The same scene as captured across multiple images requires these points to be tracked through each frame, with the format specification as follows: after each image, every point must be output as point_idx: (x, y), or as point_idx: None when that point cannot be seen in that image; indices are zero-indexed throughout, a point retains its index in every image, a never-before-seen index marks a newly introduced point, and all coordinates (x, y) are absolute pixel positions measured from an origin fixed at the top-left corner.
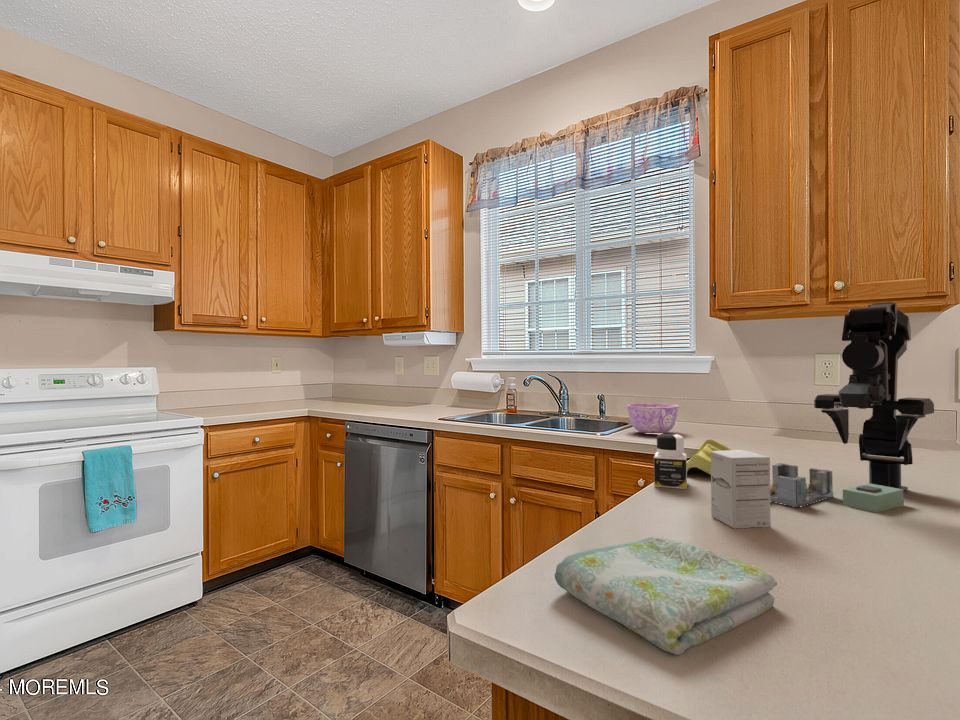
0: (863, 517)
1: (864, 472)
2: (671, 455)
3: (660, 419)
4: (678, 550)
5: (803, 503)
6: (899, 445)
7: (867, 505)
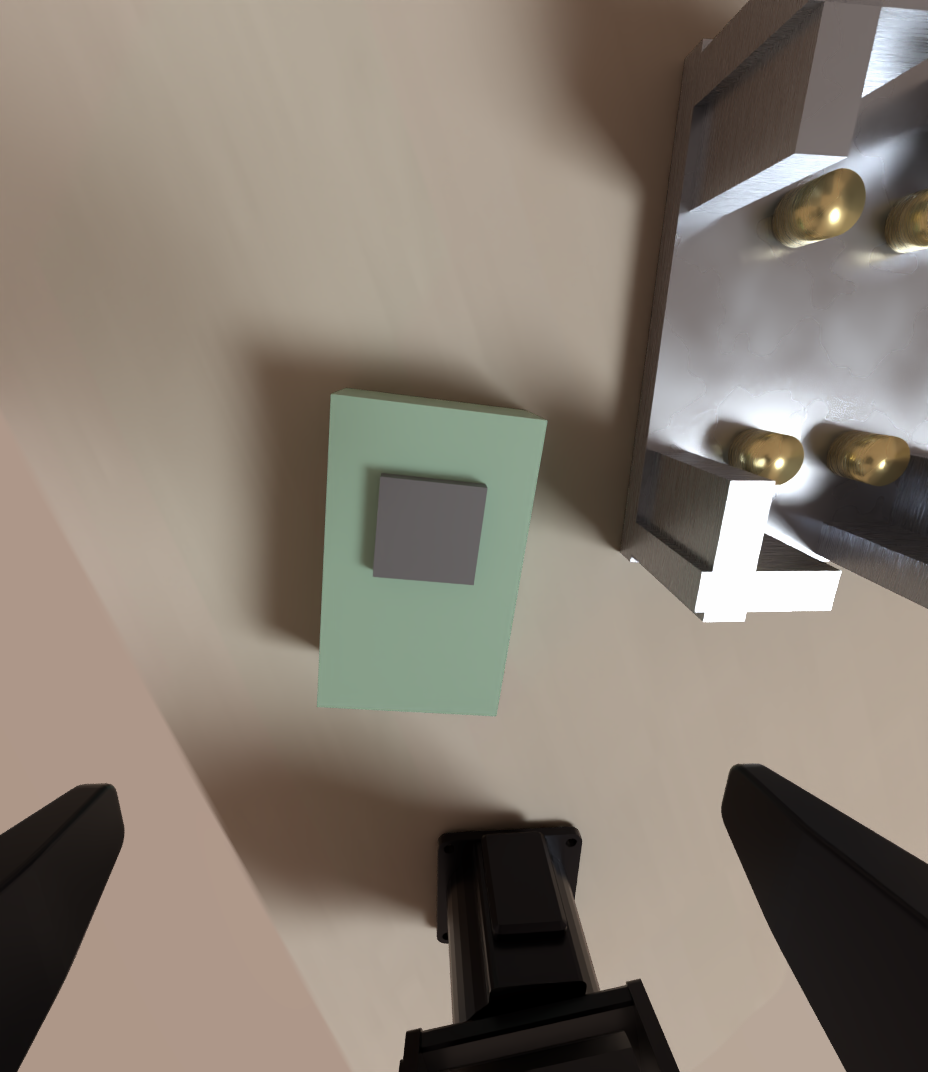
0: (338, 187)
1: None
2: None
3: None
4: None
5: (681, 146)
6: (21, 829)
7: (392, 395)
